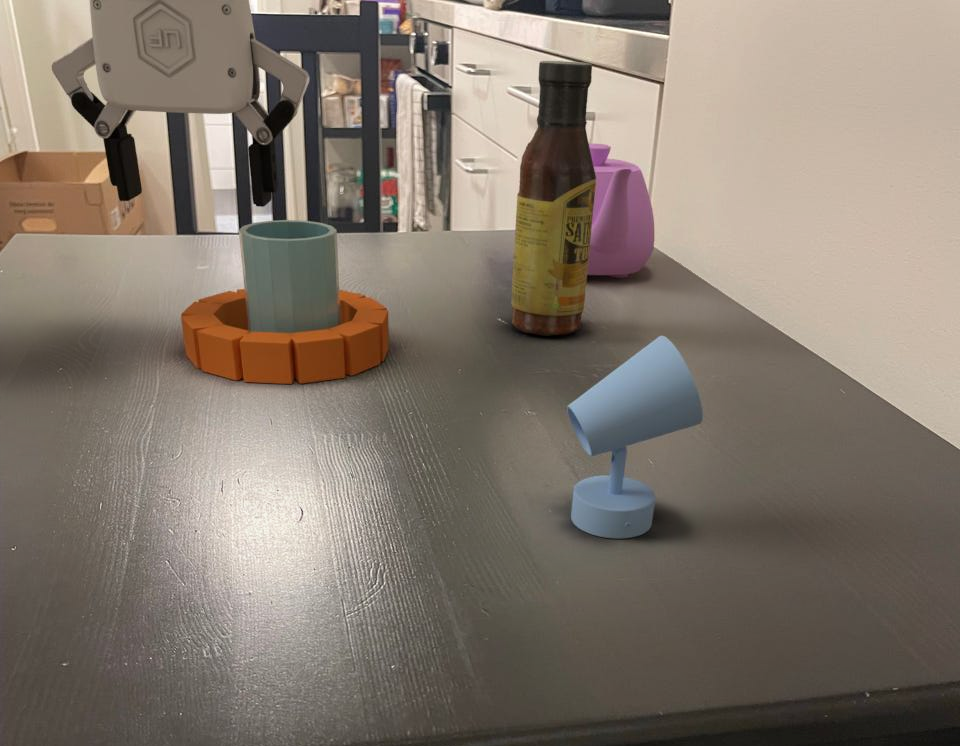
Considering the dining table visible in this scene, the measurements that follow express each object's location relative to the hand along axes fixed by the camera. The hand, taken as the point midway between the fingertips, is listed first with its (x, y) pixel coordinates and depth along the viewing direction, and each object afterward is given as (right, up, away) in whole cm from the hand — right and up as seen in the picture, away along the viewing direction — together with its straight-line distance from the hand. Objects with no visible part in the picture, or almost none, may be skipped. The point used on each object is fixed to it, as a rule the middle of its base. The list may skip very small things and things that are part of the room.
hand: (197, 200), depth 70 cm
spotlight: (+28, -25, -16) cm, 41 cm away
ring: (+6, -9, +6) cm, 12 cm away
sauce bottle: (+26, -5, +13) cm, 30 cm away
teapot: (+32, +6, +31) cm, 45 cm away
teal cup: (+6, -9, +6) cm, 13 cm away
